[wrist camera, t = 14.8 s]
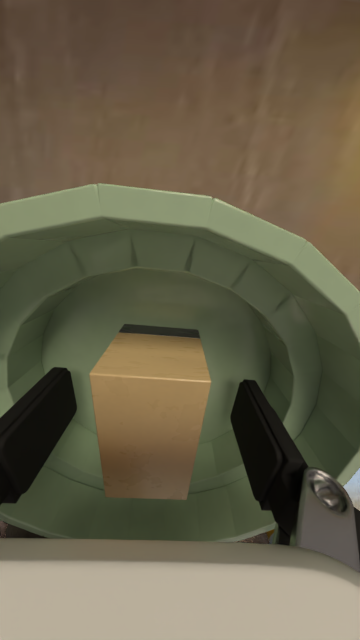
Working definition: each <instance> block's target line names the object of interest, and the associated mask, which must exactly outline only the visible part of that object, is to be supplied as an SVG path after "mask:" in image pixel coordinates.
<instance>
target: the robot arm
mask: <svg viewBox="0 0 360 640" xmlns="http://www.w3.org/2000/svg"><path fill="white" fill-rule="evenodd" d="M76 411H77V404H76V398H75V393H74V388H73V382H72V377H71V372H70V371H68V369H67V368H63V367H53V368H52V369H51V370H50V371H49V372H48V373H47V374H46V375H44V376H43V377H42V378H41V379H40V380H39V381H38V382H37V383H36V384H35V385H34V386H33V387H32V388H31V389H30V390H29V391H28V392H27V393H26V394H25V395H24V396H22V397H21V398H20V399H19V400H18V401H17V402H16V403H15V404H14V405H13V406H12V407H11V408H10V409H9V410H8V411H7V412H6V413H5V414H4V415H3V416H2V417H0V505H1V504H2V503H13V504H16V503H17V501H18V500H19V498H20V497H21V495H22V494H24V493H26V492H27V491H28V489H29V488H30V486H31V485H32V483H33V482H34V480H35V478H36V477H37V475H38V473H39V472H40V470H41V469H42V467H43V465H44V464H45V462H46V460H47V459H48V457H49V456H50V454H51V452H52V451H53V449H54V448H55V446H56V444H57V443H58V441H59V439H60V438H61V436H62V435H63V433H64V431H65V430H66V428H67V426H68V425H69V423H70V422H71V420H72V418H73V417H74V415H75V413H76ZM230 420H231V424H232V428H233V431H234V434H235V437H236V441H237V444H238V447H239V450H240V454H241V457H242V460H243V463H244V467H245V470H246V473H247V476H248V480H249V483H250V486H251V490H252V493H253V496H254V498H255V500H256V501H259V504H260V507H261V510H263V511H271V512H272V514H273V517H274V520H275V522H276V524H275V529H274V535H273V540H272V544H260V543H240V542H204V541H163V540H111V539H45V538H0V640H360V511H359V510H357V509H356V508H355V507H353V504H352V501H351V499H350V497H349V495H348V493H347V492H346V490H345V489H344V488H343V486H342V485H341V484H340V483H339V482H338V481H337V480H336V479H335V478H334V477H333V476H331V475H330V474H329V473H327V472H326V471H324V470H322V469H320V468H316V467H309V466H308V465H307V463H306V461H305V460H304V458H303V456H302V455H301V453H300V451H299V450H298V448H297V446H296V445H295V443H294V442H293V440H292V438H291V437H290V435H289V433H288V432H287V430H286V428H285V427H284V425H283V423H282V422H281V420H280V418H279V417H278V415H277V413H276V412H275V410H274V409H273V408H272V407H271V406H270V404H269V402H268V401H267V399H266V397H265V396H264V394H263V392H262V391H261V389H260V387H259V386H258V384H257V382H256V381H255V380H248V379H244V380H243V382H240V384H239V387H238V391H237V394H236V398H235V401H234V405H233V408H232V412H231V415H230Z"/></svg>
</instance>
